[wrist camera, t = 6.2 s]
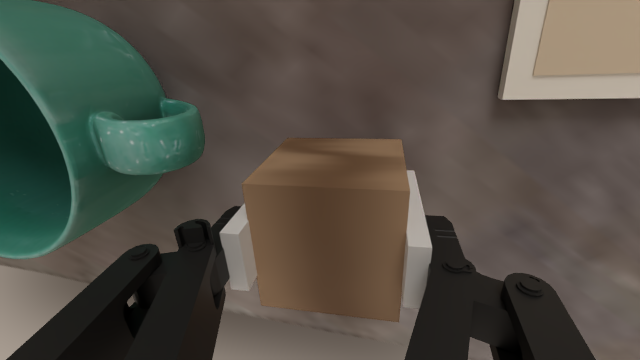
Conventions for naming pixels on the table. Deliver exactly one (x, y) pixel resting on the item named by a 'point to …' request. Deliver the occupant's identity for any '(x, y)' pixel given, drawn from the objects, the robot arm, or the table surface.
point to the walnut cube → (330, 226)
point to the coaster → (572, 50)
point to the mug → (78, 127)
